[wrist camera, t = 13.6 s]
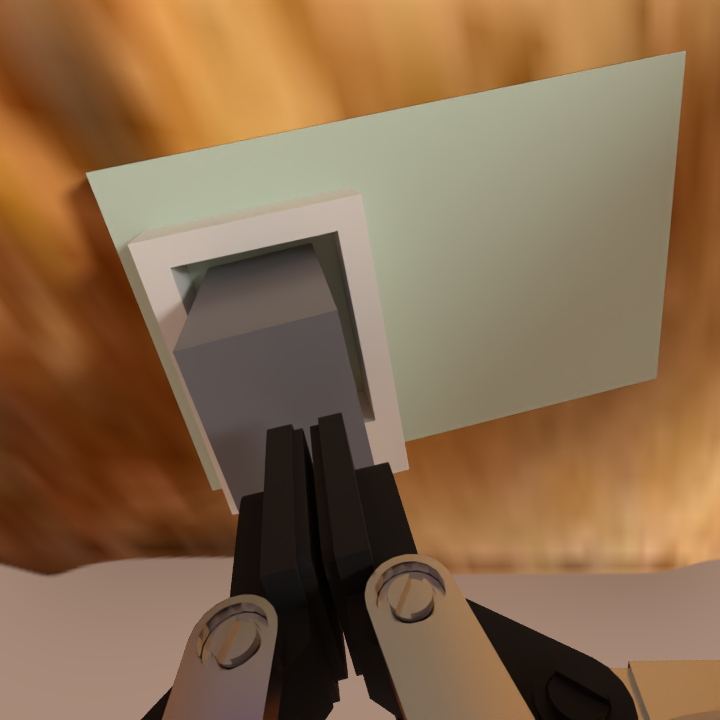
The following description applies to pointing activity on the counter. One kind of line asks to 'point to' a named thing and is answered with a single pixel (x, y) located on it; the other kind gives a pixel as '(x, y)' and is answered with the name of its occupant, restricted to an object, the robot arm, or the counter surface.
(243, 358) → the plug
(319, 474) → the robot arm
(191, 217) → the board
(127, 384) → the counter surface
